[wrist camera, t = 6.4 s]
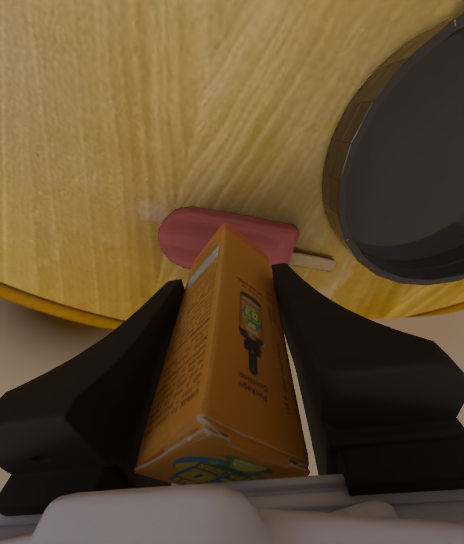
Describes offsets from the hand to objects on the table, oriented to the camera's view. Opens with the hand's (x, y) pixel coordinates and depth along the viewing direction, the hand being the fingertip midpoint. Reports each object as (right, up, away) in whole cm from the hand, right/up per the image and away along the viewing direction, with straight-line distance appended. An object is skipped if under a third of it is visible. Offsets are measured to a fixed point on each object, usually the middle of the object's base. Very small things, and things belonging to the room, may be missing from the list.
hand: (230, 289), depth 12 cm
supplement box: (0, +2, +3) cm, 3 cm away
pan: (+15, +8, +6) cm, 18 cm away
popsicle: (+2, +3, +10) cm, 11 cm away
